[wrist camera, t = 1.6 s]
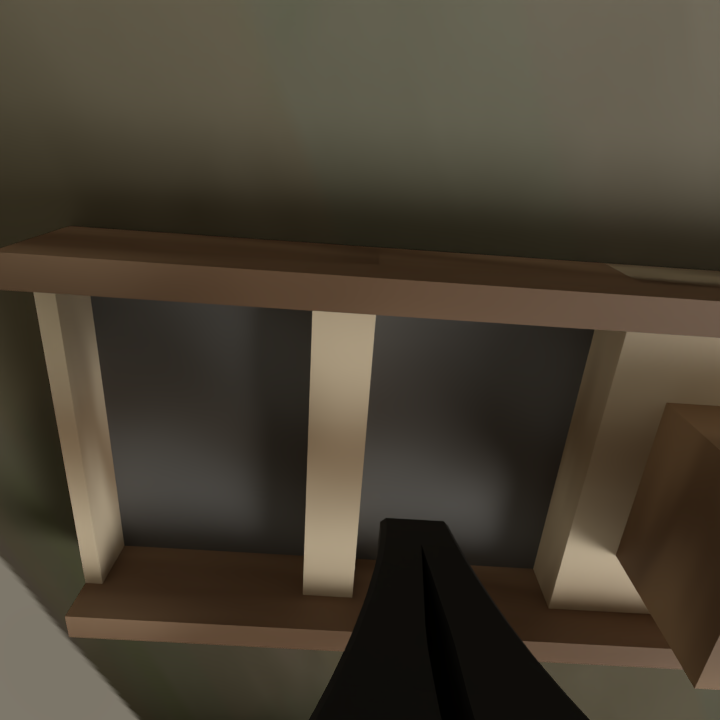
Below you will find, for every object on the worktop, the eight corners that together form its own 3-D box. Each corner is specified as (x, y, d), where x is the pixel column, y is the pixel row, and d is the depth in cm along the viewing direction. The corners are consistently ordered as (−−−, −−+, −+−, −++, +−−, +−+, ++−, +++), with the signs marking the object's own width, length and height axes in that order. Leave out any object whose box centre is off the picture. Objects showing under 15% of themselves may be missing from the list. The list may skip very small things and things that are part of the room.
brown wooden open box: (975, 602, 19) (1149, 736, 15) (116, 554, 18) (44, 679, 14) (1188, 303, 14) (1520, 372, 10) (69, 225, 14) (-58, 266, 10)
